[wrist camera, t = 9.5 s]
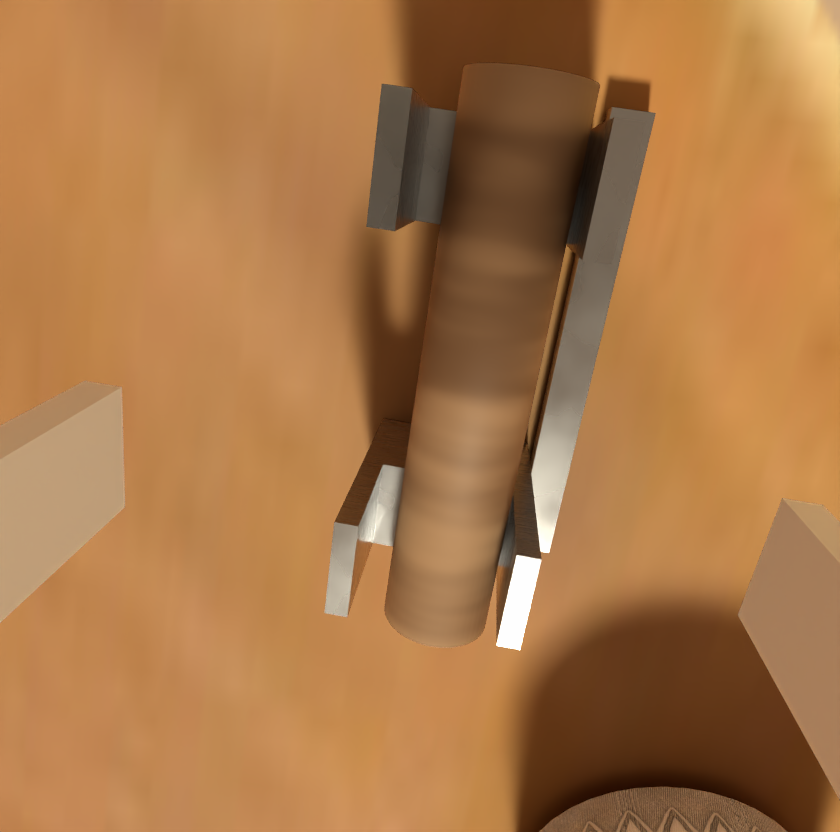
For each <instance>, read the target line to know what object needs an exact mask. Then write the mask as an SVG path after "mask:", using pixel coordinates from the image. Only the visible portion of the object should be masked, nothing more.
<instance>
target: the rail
mask: <svg viewBox="0 0 840 832" xmlns="http://www.w3.org/2000/svg"><path fill="white" fill-rule="evenodd" d="M599 88H600V84H599V83H597V82H596V81H594V80H591V79H589V78H586V77H583V76H579V75H576V74H572V73H568V72H563V71H558V70H553V69H547V68H541V67H534V66H526V65H518V64H506V63H472V64H467V65H465V66H464V67H463V73H462V80H461V87H460V93H459V100H458V107H457V114H456V121H455V128H454V134H453V141H452V148H451V155H450V162H449V169H448V176H447V182H446V189H445V196H444V203H443V210H442V217H441V223H440V230H439V237H438V244H437V251H436V258H435V265H434V271H433V278H432V285H431V292H430V299H429V306H428V312H427V319H426V326H425V333H424V340H423V347H422V354H421V360H420V367H419V374H418V381H417V388H416V395H415V401H414V408H413V415H412V422H411V429H410V436H409V443H408V449H407V456H406V463H405V470H404V477H403V484H402V490H401V497H400V504H399V511H398V518H397V525H396V532H395V538H394V545H393V552H392V559H391V566H390V573H389V579H388V586H387V593H386V600H385V615H386V618H387V620H388V621H389V623H390V624H391V626H392V627H393V628H394V629H395V630H396V631H397V632H398V633H400V634H401V635H403V636H404V637H406V638H408V639H410V640H412V641H414V642H416V643H419V644H422V645H426V646H430V647H437V648H453V647H459V646H463V645H466V644H469V643H471V642H473V641H474V640H476V639H477V638H478V637H479V636H480V635H481V634H482V632H483V631H484V628H485V624H486V619H487V615H488V610H489V605H490V601H491V596H492V591H493V586H494V582H495V577H496V572H497V568H498V563H499V558H500V554H501V549H502V544H503V539H504V535H505V530H506V525H507V521H508V516H509V511H510V507H511V502H512V497H513V492H514V488H515V483H516V478H517V474H518V469H519V464H520V460H521V455H522V450H523V445H524V441H525V436H526V431H527V427H528V422H529V417H530V412H531V408H532V403H533V398H534V394H535V389H536V384H537V380H538V375H539V370H540V365H541V361H542V356H543V351H544V347H545V342H546V337H547V333H548V328H549V323H550V318H551V314H552V309H553V304H554V300H555V295H556V290H557V285H558V281H559V276H560V271H561V267H562V262H563V257H564V253H565V248H566V243H567V238H568V234H569V229H570V224H571V220H572V215H573V210H574V206H575V201H576V196H577V191H578V187H579V182H580V177H581V173H582V168H583V163H584V159H585V154H586V149H587V144H588V140H589V135H590V130H591V126H592V121H593V116H594V111H595V107H596V102H597V97H598V93H599Z"/></svg>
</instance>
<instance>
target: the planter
mask: <svg viewBox="0 0 840 832" xmlns="http://www.w3.org/2000/svg"><path fill="white" fill-rule="evenodd" d="M539 832H787V831H786V830H785V829H784V828H783V827H782V826H780V825H779V824H778V823H777V822H776V821H774V820H773V819H771V818H770V817H768V816H766V815H765V814H763V813H762V812H760V811H758V810H757V809H755V808H753V807H750V806H748V805H746V804H744V803H741V802H739V801H737V800H735V799H732V798H728V797H725V796H722V795H718V794H715V793H712V792H706V791H701V790H695V789H689V788H679V787H661V786H660V787H643V788H633V789H627V790H621V791H616V792H611V793H608V794H604V795H601V796H598V797H595V798H591V799H589V800H586V801H584V802H582V803H580V804H578V805H576V806H573V807H571V808H569V809H568V810H566V811H565V812H563V813H562V814H560V815H558V816H557V817H555V818H554V819H552V820H551V821H550V822H549V823H548V824H547V825H546V826H545V827H544V828H542V829H541V830H540V831H539Z"/></svg>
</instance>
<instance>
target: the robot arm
mask: <svg viewBox="0 0 840 832" xmlns="http://www.w3.org/2000/svg"><path fill="white" fill-rule="evenodd" d="M124 507H125V488H124V450H123V412H122V387H119V386H113V385H107V384H101V383H95V382H89V381H84V382H82V383H80V384H78V385H76V386H74V387H72V388H70V389H68V390H67V391H65V392H63V393H61V394H59V395H57V396H55V397H53V398H51V399H49V400H48V401H46V402H44V403H42V404H40V405H38V406H36V407H34V408H32V409H30V410H29V411H27V412H25V413H23V414H21V415H19V416H17V417H15V418H13V419H11V420H10V421H8V422H6V423H4V424H2V425H0V622H2V621H3V620H4V619H5V618H6V617H7V616H8V615H9V614H10V613H11V612H12V611H13V610H14V609H16V608H17V607H18V606H19V605H20V604H21V603H22V602H23V601H24V600H25V599H26V598H27V597H28V596H30V595H31V594H32V593H33V592H34V591H35V590H36V589H37V588H38V587H39V586H40V585H41V584H42V583H44V582H45V581H46V580H47V579H48V578H49V577H50V576H51V575H52V574H53V573H54V572H55V571H56V570H58V569H59V568H60V567H61V566H62V565H63V564H64V563H65V562H66V561H67V560H68V559H69V558H70V557H72V556H73V555H74V554H75V553H76V552H77V551H78V550H79V549H80V548H81V547H82V546H83V545H85V544H86V543H87V542H88V541H89V540H90V539H91V538H92V537H93V536H94V535H95V534H96V533H97V532H99V531H100V530H101V529H102V528H103V527H104V526H105V525H106V524H107V523H108V522H109V521H110V520H111V519H113V518H114V517H115V516H116V515H117V514H118V513H119V512H120V511H121V510H122V509H123V508H124ZM738 617H739V618H740V620H741V622H742V624H743V626H744V627H745V629H746V631H747V633H748V635H749V637H750V638H751V640H752V642H753V644H754V646H755V647H756V649H757V651H758V653H759V655H760V657H761V658H762V660H763V662H764V664H765V666H766V667H767V669H768V671H769V673H770V675H771V677H772V678H773V680H774V682H775V684H776V686H777V687H778V689H779V691H780V693H781V695H782V696H783V698H784V700H785V702H786V704H787V706H788V707H789V709H790V711H791V713H792V715H793V716H794V718H795V720H796V722H797V724H798V726H799V727H800V729H801V731H802V733H803V735H804V736H805V738H806V740H807V742H808V744H809V746H810V747H811V749H812V751H813V753H814V755H815V756H816V758H817V760H818V762H819V764H820V765H821V767H822V769H823V771H824V773H825V775H826V776H827V778H828V780H829V782H830V784H831V785H832V787H833V789H834V791H835V793H836V795H837V796H838V798H839V800H840V522H839V521H838V520H837V519H836V518H835V517H834V516H833V515H832V514H831V513H830V512H829V511H828V510H827V509H826V508H825V507H824V506H823V505H820V504H814V503H808V502H802V501H796V500H790V499H784V498H782V500H781V503H780V506H779V508H778V511H777V513H776V516H775V519H774V521H773V524H772V527H771V529H770V532H769V534H768V537H767V540H766V542H765V545H764V547H763V550H762V553H761V555H760V558H759V561H758V563H757V566H756V568H755V571H754V574H753V576H752V579H751V581H750V584H749V587H748V589H747V592H746V595H745V597H744V600H743V602H742V605H741V608H740V610H739V613H738Z"/></svg>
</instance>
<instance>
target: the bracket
mask: <svg viewBox="0 0 840 832" xmlns="http://www.w3.org/2000/svg"><path fill="white" fill-rule="evenodd" d="M456 114H457V111H451V110H444V109H437V108H430V106H429V105H428V104H427V103H426V102H425V101H424V100H423V99H422V98H421V97H420V96H419V95H418V94H417V93H416V91H415V90H414V89H413V88H408V87H401V86H395V85H388V84H382V88H381V97H380V106H379V115H378V124H377V134H376V143H375V152H374V161H373V171H372V180H371V189H370V198H369V208H368V217H367V226H366V227H371V228H378V229H384V230H391V231H396V230H398V229H400V228H402V227H404V226H406V225H408V224H410V223H412V222H414V221H415V220H416V221H422V222H428V223H435V224H440V223H441V217H442V210H443V203H444V196H445V189H446V182H447V176H448V169H449V162H450V155H451V148H452V141H453V134H454V128H455V121H456ZM655 114H656V113H651V112H644V111H637V110H630V109H623V108H616V107H611V108H610V109H608V110H607V113H606V118H605V122H604V123H602V124H600V125H598V126H596V127H594V128H592V129H591V130H590V135H589V140H588V144H587V149H586V154H585V159H584V163H583V168H582V173H581V177H580V182H579V187H578V191H577V196H576V201H575V206H574V210H573V215H572V220H571V224H570V229H569V234H568V238H567V243H566V245H567V246H568V247H569V248H570V249H571V250H572V251H573V252H574V253H575V254H576V255H575V260H574V264H573V269H572V274H571V278H570V283H569V287H568V292H567V296H566V301H565V306H564V310H563V315H562V319H561V324H560V328H559V333H558V338H557V342H556V347H555V351H554V356H553V360H552V365H551V370H550V374H549V379H548V383H547V388H546V392H545V397H544V402H543V406H542V411H541V415H540V420H539V425H538V429H537V434H536V438H535V443H534V447H533V452H532V457H531V461H530V458H529V450H528V443H524V445H523V450H522V455H521V460H520V464H519V469H518V474H517V478H516V483H515V488H514V492H513V497H512V502H511V507H510V511H509V516H508V521H507V525H506V530H505V535H504V539H503V544H502V549H501V554H500V558H499V563H498V568H497V645H498V646H503V647H508V648H513V649H519V650H520V647H521V643H522V639H523V635H524V630H525V626H526V622H527V618H528V614H529V609H530V605H531V601H532V597H533V593H534V589H535V584H536V580H537V576H538V572H539V568H540V563H541V552H546V553H549V551H550V547H551V543H552V539H553V535H554V530H555V526H556V522H557V518H558V514H559V510H560V506H561V502H562V497H563V493H564V489H565V485H566V481H567V477H568V473H569V469H570V464H571V460H572V456H573V452H574V448H575V444H576V440H577V436H578V431H579V427H580V423H581V419H582V415H583V411H584V407H585V402H586V398H587V394H588V390H589V386H590V382H591V378H592V374H593V369H594V365H595V361H596V357H597V353H598V349H599V345H600V341H601V336H602V332H603V328H604V324H605V320H606V316H607V312H608V308H609V303H610V299H611V295H612V291H613V287H614V283H615V279H616V275H617V270H618V266H619V262H620V258H621V254H622V250H623V246H624V241H625V237H626V233H627V229H628V225H629V221H630V217H631V213H632V208H633V204H634V200H635V196H636V192H637V188H638V184H639V180H640V175H641V171H642V167H643V163H644V159H645V155H646V151H647V147H648V142H649V138H650V134H651V130H652V126H653V122H654V118H655ZM410 429H411V423H407V422H401V421H395V420H389V419H384V418H383V420H382V423H381V425H380V427H379V429H378V431H377V433H376V435H375V437H374V439H373V442H372V444H371V446H370V448H369V450H368V452H367V454H366V456H365V459H364V461H363V463H362V465H361V467H360V469H359V471H358V473H357V475H356V478H355V480H354V482H353V484H352V486H351V488H350V490H349V492H348V494H347V497H346V499H345V501H344V503H343V505H342V507H341V509H340V511H339V514H338V516H337V518H336V520H335V522H334V531H333V540H332V549H331V559H330V568H329V577H328V586H327V595H326V605H325V613H328V614H333V615H338V616H344V617H347V616H348V614H349V611H350V608H351V605H352V602H353V599H354V596H355V593H356V590H357V587H358V584H359V581H360V578H361V575H362V572H363V570H364V567H365V564H366V561H367V558H368V555H369V552H370V549H371V546H372V543H377V544H383V545H388V546H393V545H394V538H395V532H396V525H397V518H398V511H399V504H400V497H401V490H402V484H403V477H404V470H405V463H406V456H407V449H408V443H409V436H410Z"/></svg>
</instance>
